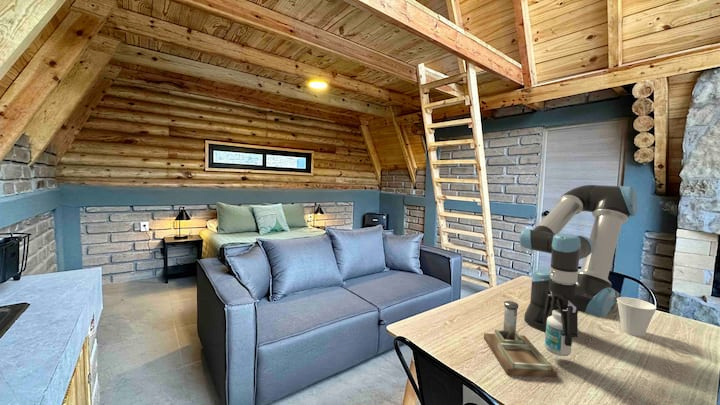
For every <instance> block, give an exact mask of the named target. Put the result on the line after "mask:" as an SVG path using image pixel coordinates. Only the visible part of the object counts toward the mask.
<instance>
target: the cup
mask: <svg viewBox="0 0 720 405" xmlns="http://www.w3.org/2000/svg"><path fill="white" fill-rule="evenodd" d="M617 308H618V314H619V321H620V326H621V331H622V332H624V333H626V334H628V335H631V336H633V337H634V336H635V337H645V334H646V333H647V331H648V328H649V325H650V323H651V320H652V318H653V317H654V314H655V312H656V310H657V306H656V305H655V304H653V303H651V302H649V301H646V300H642V299H639V298H636V297H635V298H634V297H627V296H621V297H619V298H617Z"/></svg>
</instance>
